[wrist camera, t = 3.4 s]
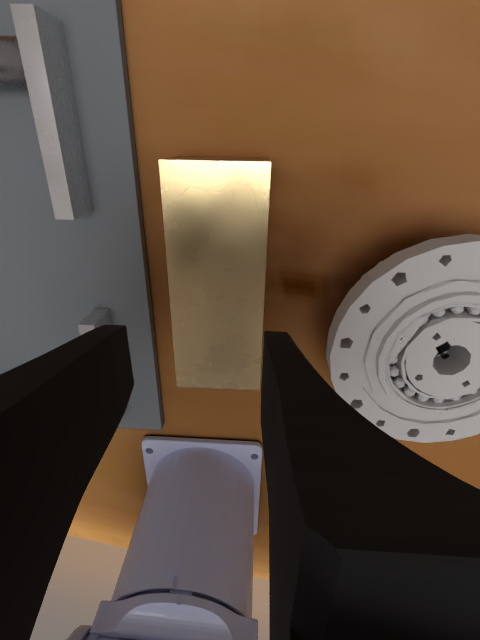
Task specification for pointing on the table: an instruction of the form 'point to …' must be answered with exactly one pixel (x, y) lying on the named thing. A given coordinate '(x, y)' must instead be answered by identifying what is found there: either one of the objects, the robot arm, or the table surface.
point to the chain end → (49, 104)
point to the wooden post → (216, 266)
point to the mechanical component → (413, 342)
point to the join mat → (87, 231)
